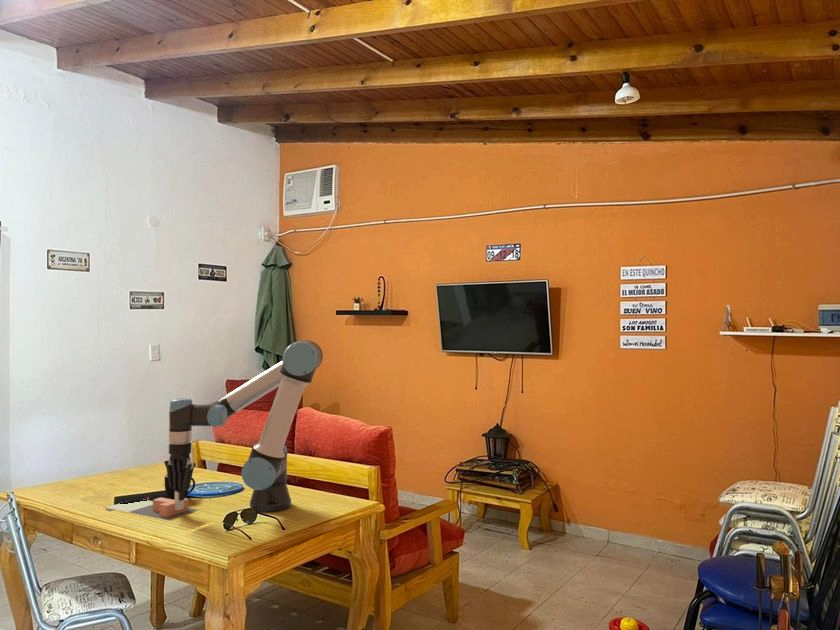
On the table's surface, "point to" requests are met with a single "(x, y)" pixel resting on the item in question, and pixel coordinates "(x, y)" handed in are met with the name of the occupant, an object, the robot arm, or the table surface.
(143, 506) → the mat
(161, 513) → the t block
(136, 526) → the table surface
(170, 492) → the mug
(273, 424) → the robot arm
